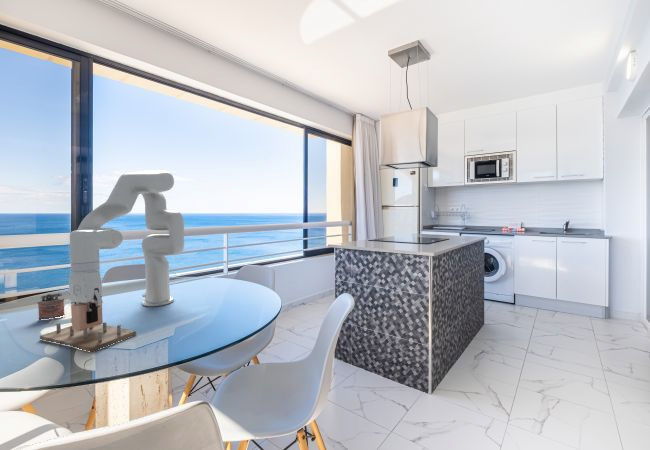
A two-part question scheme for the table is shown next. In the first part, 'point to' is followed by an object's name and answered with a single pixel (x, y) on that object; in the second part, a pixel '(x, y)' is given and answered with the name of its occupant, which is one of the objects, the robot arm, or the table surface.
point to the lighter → (51, 306)
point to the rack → (89, 336)
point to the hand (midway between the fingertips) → (87, 320)
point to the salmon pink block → (83, 316)
